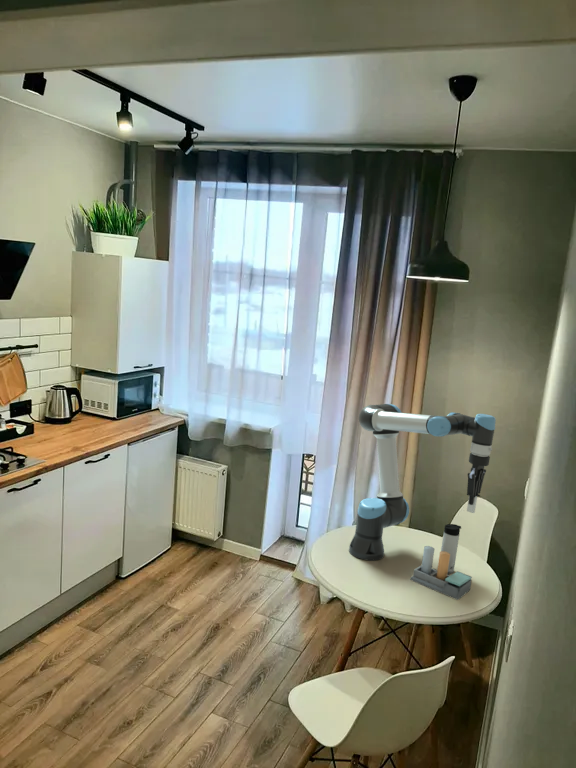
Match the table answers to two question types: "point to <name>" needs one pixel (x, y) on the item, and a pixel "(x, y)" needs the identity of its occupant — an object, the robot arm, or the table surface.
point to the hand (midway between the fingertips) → (470, 511)
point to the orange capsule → (443, 565)
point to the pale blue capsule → (427, 560)
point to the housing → (440, 583)
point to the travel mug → (451, 543)
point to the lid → (458, 578)
